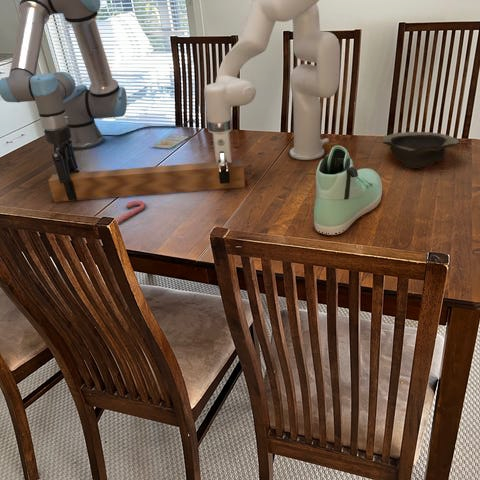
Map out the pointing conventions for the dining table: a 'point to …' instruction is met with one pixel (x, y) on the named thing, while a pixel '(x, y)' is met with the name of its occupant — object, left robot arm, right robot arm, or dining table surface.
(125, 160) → the dining table surface
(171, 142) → the baking ingredient package
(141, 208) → the candy cane
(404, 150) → the stone bowl
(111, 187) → the post
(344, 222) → the sneaker
